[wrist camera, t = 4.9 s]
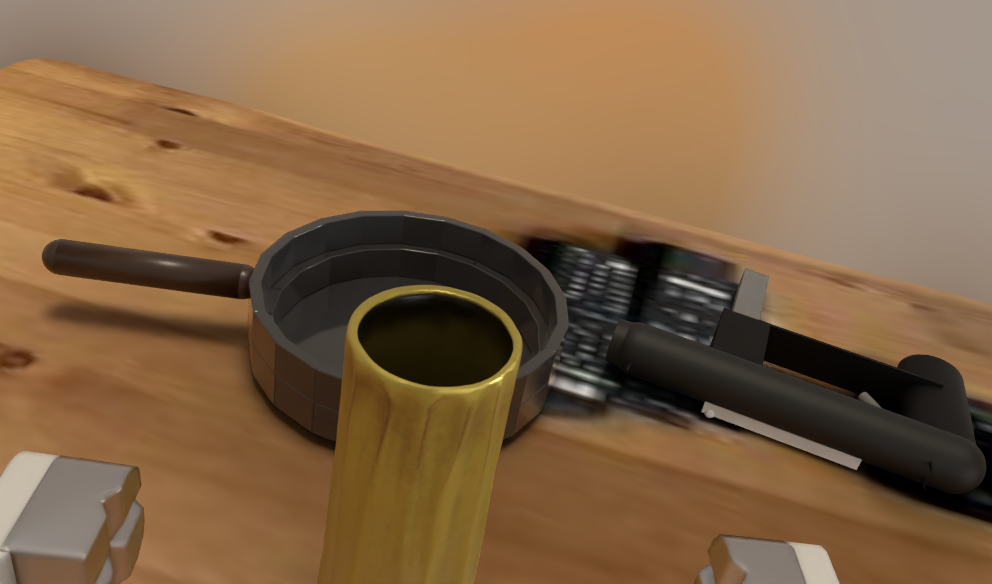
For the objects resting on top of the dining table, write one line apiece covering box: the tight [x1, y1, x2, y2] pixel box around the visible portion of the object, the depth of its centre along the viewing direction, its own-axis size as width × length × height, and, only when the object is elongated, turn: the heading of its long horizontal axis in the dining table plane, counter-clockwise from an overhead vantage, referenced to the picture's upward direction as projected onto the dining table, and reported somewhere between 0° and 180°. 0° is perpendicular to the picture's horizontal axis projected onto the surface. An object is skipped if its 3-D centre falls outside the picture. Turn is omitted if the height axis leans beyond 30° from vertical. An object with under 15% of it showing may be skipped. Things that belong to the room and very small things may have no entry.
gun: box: [606, 268, 986, 494], centre depth 51 cm, size 3×20×16 cm
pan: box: [248, 211, 569, 442], centre depth 46 cm, size 16×16×4 cm
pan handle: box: [42, 239, 254, 299], centre depth 44 cm, size 11×2×2 cm, turn 90°
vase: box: [318, 285, 522, 584], centre depth 29 cm, size 6×6×14 cm
